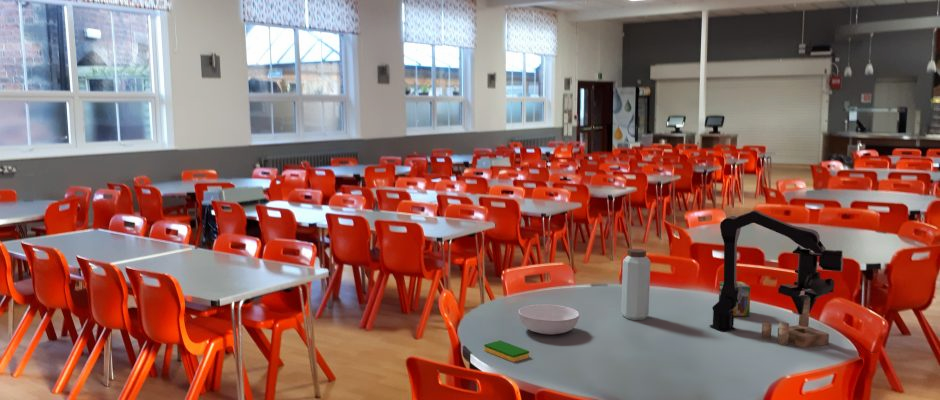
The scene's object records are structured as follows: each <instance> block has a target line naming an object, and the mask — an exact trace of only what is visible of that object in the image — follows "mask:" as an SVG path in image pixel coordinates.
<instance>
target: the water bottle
mask: <svg viewBox="0 0 940 400" xmlns="http://www.w3.org/2000/svg"><path fill="white" fill-rule="evenodd" d="M621 275H622V276H621V301H620V302H621V304H620V305H621V307H620V308H621V309H620V314H621V315H622V318H625V319H627V320H633V321H640V320H645V319H646V318H647V317H648V315H649V312H650V284H651V283H650V282H651V281H650V280H651V260H650V259H649V257H648V256H647V250H646V249H645V250H644V249H641V248H640V249H639V248H631V249H628V250H627V256H625V258H624V259H623V260H622V273H621Z"/></svg>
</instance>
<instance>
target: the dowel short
mask: <svg viewBox="0 0 940 400" xmlns="http://www.w3.org/2000/svg"><path fill="white" fill-rule="evenodd" d="M761 324H762V325H761V338H762V339H766V340H767V339H768V340H769V339H771V338H772V330H773V329H772V327H773V324H772V322H770V321H762V322H761Z"/></svg>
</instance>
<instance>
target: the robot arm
mask: <svg viewBox="0 0 940 400" xmlns="http://www.w3.org/2000/svg"><path fill="white" fill-rule="evenodd" d="M750 224H751V225H752V224H756V225H758V226H761V227H764V228H765V229H768V230H770V231H772V232H775V233H778V234H780V235H782V236H785V237H787V238H789V239H790V240H791V241H792V242H794V243H795V244H797V245H798V246H797V247H796V248H795V249H793V251H792V254H796V255H798V260H797V261H798V262H797V269H794V274H797V275H796V277H797V278H796V281H793V284H789V283H788V284H787V283H786V284H780V285H779V286H778V287H777V289H778V291H777V292H778V294H781V295H783V296H787V297H789V298H790V297H791V300H792V302H793V303H794V306H795V308H796V310H797V312H798V315H799V314H800V315H802V312H803V305H804V300H805V299H806V298H807V297H808V296H810V311H809V314H811V311H812V310H813V307H814V305H815V303H816V301H817V299H819V298H820V297H822V296H824V295H827V296H828V295H829V294H830V293H834V290H835V289H834V287H835V280H834V279H833V278H831V277H830V278H829V277H828V278H822V277H821V273H820V271H817V270H818V267H820V268H821V270H823V271H829V272H830V271H832V272H840V273H842V271H843V266H844V259H843V252H844V251H843V250H841V249H840V250H839V249H838V250H836V249H835V250H833V249H826V247H825V246H824V244H823V243H822V241H821V238H820V236H821V235H820V234H819V232H818V231H817V230H815V229H812V228H807V227H803V226H796V225H792V224H790V223H787V222H785V221H782V220H780V219H778V218H775V217H773V216H770V215H768V214H766V213H763V212H761V211H760V210H758V209H753V210H751V211H749V212H747V213H743V214H741V215H739V216H734V215H729V216H728V217H726V218H724V219H722V221H720V225H719V228H720V229H719V230H720V235H721V238H722V241H723V282H724V284H723V287H722V290H721V294H720V299H719V298H718V301H717V302H716V303H715V304H714V305H713V306H712V307H711V308H712V311H713V312H712V324H710V325H709V327H710V328H712V329H715V330H717V331H720V332H726V331H733V330H734V331H735V330H736V329H737V328H736V327H734V325H735V324H734V321H735V316H734V315H733V311H731V310H732V309H733V308H735V307H736V306H737V305H738V304H739V302H740V300H741V299H742V295H741V292H742V287H738V285H737V282H738V281H737V275H738V274H737V273H738V271H737V269H738V268H737V267H738V266H737V265H738V261H737V260H738V259H737V255H738V251H737V250H738V240H739V236H740V234H741V229H742V228H743V227H746V226H749V225H750ZM818 257H819V259H818ZM805 295H807V296H805Z"/></svg>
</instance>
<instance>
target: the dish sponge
mask: <svg viewBox="0 0 940 400" xmlns="http://www.w3.org/2000/svg"><path fill="white" fill-rule="evenodd" d="M483 345H484V347H483V348H484V352H486V353H489V354H491V355H494V356H497V357H500V358H502V359H504V360H507V361H508V362H509V361H510V362H513V363H516V362H518V361H522V360H525V359H528V358H530V350H527V349H524V348H521V347H519V346H516V345H514V344H511V343H508V342H505V341H503V340H497V341H496V340H495V341H493V342H490V343H485V344H483Z"/></svg>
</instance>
